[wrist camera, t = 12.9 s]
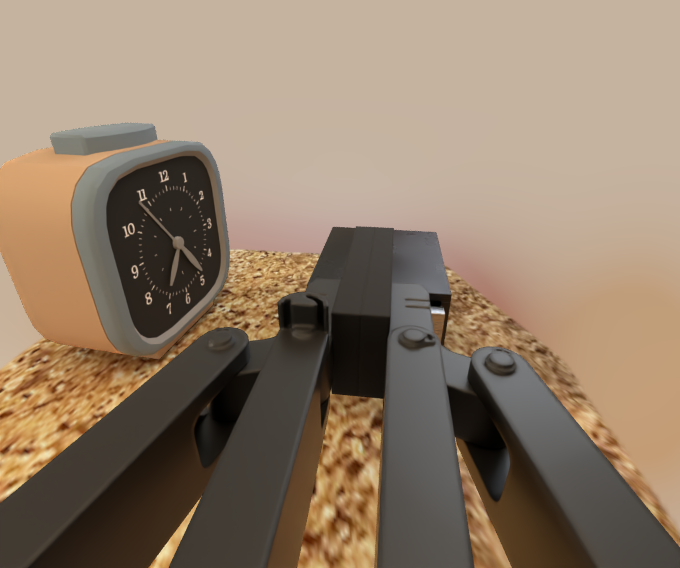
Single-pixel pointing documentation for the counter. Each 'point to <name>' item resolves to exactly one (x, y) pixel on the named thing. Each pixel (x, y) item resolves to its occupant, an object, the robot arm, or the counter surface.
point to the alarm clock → (114, 237)
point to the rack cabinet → (395, 263)
